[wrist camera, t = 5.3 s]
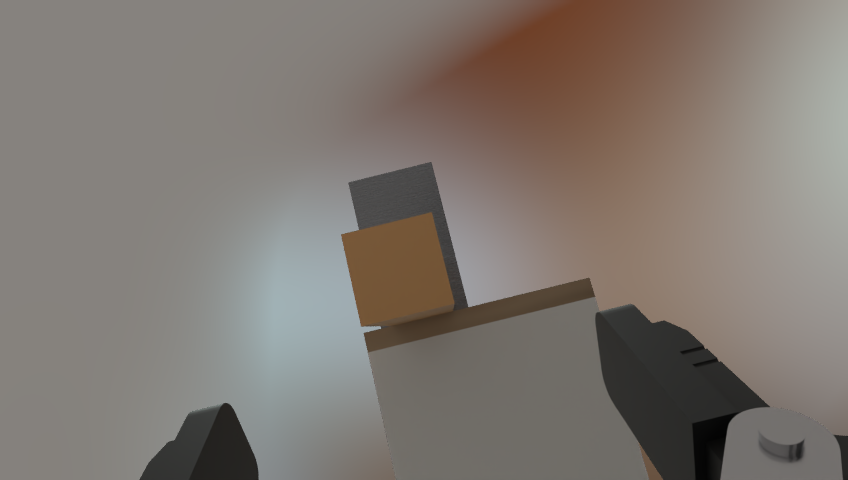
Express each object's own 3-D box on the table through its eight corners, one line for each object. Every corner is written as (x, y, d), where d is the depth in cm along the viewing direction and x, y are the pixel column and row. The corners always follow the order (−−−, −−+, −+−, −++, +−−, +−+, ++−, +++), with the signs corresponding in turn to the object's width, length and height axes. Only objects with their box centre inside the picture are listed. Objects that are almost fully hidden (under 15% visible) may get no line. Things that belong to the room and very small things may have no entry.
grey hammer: (482, 296, 14) (419, 53, 15) (333, 333, 14) (281, 88, 15) (465, 311, 28) (434, 189, 30) (393, 328, 29) (365, 206, 30)
